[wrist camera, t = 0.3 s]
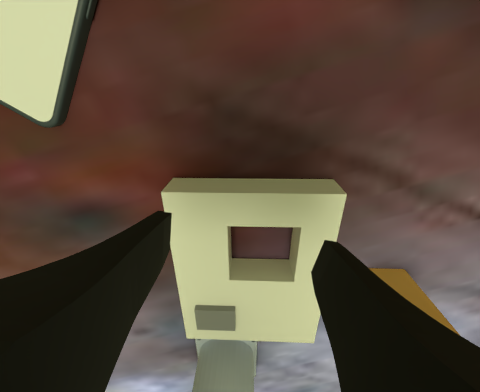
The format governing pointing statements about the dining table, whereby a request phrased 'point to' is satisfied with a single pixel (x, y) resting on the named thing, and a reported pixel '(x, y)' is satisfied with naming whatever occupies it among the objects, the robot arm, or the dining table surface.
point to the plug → (411, 292)
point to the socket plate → (249, 270)
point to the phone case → (42, 55)
